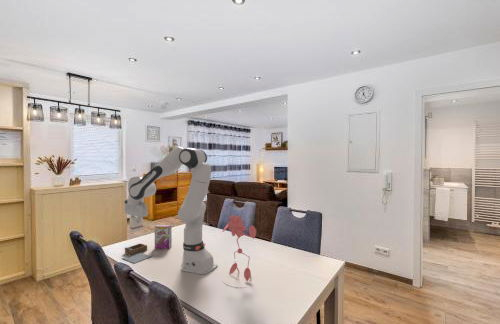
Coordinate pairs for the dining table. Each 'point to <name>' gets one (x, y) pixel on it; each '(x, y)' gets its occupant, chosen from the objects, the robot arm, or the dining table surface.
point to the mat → (136, 257)
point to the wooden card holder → (135, 249)
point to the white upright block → (136, 224)
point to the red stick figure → (237, 229)
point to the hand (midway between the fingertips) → (136, 222)
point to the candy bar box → (163, 236)
